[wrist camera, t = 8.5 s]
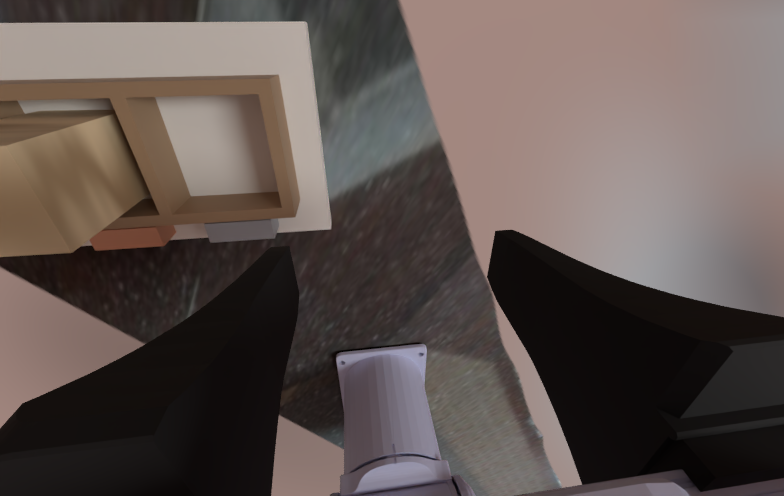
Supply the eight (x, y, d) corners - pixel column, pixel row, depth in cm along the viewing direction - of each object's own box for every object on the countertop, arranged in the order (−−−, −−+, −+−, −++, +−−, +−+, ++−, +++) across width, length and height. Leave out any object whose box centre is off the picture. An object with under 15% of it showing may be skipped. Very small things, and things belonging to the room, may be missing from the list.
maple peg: (160, 185, 18) (71, 252, 12) (82, 189, 18) (-48, 260, 12) (130, 109, 16) (6, 145, 10) (40, 110, 16) (-143, 149, 10)
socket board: (331, 222, 22) (329, 248, 19) (71, 239, 20) (26, 271, 17) (307, 22, 16) (299, 18, 13) (-61, 24, 14) (-162, 19, 12)
